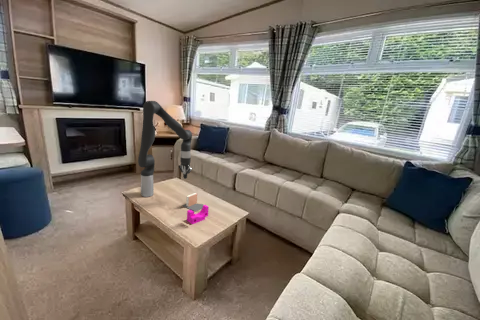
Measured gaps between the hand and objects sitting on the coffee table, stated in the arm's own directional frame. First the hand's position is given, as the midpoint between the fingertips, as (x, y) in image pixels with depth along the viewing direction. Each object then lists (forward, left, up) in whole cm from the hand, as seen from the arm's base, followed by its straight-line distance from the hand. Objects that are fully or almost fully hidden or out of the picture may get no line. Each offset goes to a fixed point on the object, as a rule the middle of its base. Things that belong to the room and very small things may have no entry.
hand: (185, 178), depth 167 cm
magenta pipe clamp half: (+27, -12, -20) cm, 36 cm away
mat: (+11, 0, -20) cm, 23 cm away
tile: (+8, 0, -19) cm, 21 cm away
